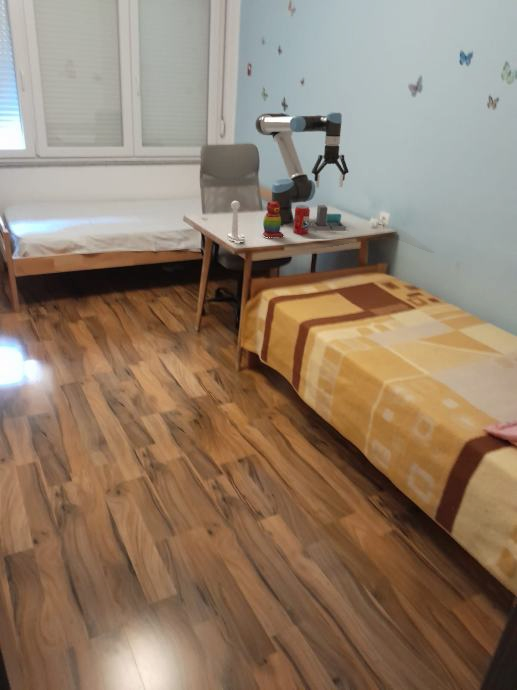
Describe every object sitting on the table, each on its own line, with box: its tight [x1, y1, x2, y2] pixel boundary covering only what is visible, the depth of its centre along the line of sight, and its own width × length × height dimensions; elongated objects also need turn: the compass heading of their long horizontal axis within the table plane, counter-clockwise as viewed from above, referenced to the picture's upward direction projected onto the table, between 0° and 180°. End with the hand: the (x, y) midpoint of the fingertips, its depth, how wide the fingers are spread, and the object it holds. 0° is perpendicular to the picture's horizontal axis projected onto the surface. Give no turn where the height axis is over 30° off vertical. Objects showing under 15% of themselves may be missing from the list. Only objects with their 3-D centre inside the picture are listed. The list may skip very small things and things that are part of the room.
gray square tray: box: [309, 221, 348, 233], centre depth 292 cm, size 17×17×3 cm
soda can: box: [292, 204, 311, 236], centre depth 278 cm, size 8×8×15 cm
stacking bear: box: [262, 201, 285, 239], centre depth 273 cm, size 11×10×18 cm
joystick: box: [227, 200, 245, 242], centre depth 263 cm, size 11×8×20 cm
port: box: [326, 213, 347, 231], centre depth 293 cm, size 8×13×6 cm, turn 9°
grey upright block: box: [315, 204, 328, 226], centre depth 289 cm, size 4×6×12 cm, turn 9°
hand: (328, 187), depth 281 cm, fingers open, 13 cm apart
